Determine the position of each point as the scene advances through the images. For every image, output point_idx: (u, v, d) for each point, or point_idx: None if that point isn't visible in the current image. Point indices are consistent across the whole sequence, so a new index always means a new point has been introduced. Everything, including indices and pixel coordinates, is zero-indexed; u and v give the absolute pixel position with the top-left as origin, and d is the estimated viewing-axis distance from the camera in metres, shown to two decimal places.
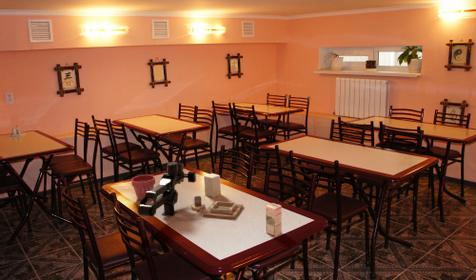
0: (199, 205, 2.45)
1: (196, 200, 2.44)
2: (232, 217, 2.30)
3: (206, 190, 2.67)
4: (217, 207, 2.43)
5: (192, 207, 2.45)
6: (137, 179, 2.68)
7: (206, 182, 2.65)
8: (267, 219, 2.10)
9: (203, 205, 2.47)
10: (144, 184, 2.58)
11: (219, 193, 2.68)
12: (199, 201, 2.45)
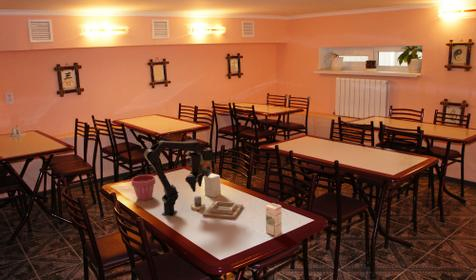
0: (199, 205, 2.45)
1: (196, 200, 2.44)
2: (232, 217, 2.30)
3: (206, 190, 2.67)
4: (217, 207, 2.43)
5: (192, 207, 2.45)
6: (137, 179, 2.68)
7: (206, 182, 2.65)
8: (267, 219, 2.10)
9: (203, 205, 2.47)
10: (144, 184, 2.58)
11: (219, 193, 2.68)
12: (199, 201, 2.45)
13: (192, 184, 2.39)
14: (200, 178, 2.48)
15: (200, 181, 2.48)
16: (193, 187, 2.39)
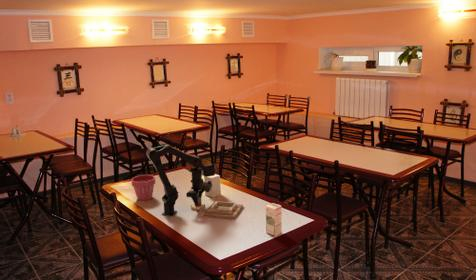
0: (199, 205, 2.45)
1: None
2: (232, 217, 2.30)
3: None
4: (217, 207, 2.43)
5: (192, 207, 2.45)
6: (137, 179, 2.68)
7: None
8: (267, 219, 2.10)
9: (203, 205, 2.47)
10: (144, 184, 2.58)
11: (219, 193, 2.68)
12: (199, 201, 2.45)
13: (194, 198, 2.43)
14: (199, 194, 2.48)
15: None
16: (195, 201, 2.43)
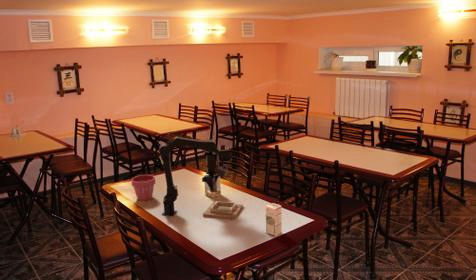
0: (215, 190, 2.39)
1: None
2: (232, 217, 2.30)
3: (206, 190, 2.67)
4: (217, 207, 2.43)
5: (207, 192, 2.39)
6: (137, 179, 2.68)
7: None
8: (267, 219, 2.10)
9: (219, 190, 2.41)
10: (144, 184, 2.58)
11: None
12: (215, 186, 2.39)
13: (210, 183, 2.37)
14: (215, 179, 2.42)
15: None
16: (211, 186, 2.37)
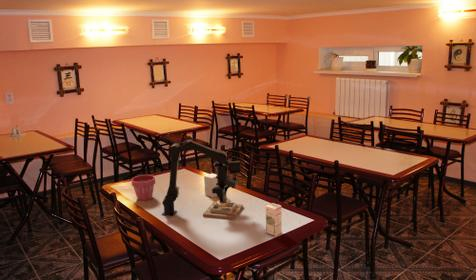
0: (224, 202, 2.38)
1: None
2: (232, 217, 2.30)
3: (206, 190, 2.67)
4: (217, 207, 2.43)
5: (217, 204, 2.38)
6: (137, 179, 2.68)
7: (206, 182, 2.65)
8: (267, 219, 2.10)
9: (228, 202, 2.40)
10: (144, 184, 2.58)
11: None
12: (224, 197, 2.38)
13: (220, 194, 2.36)
14: (224, 190, 2.41)
15: None
16: (221, 197, 2.36)
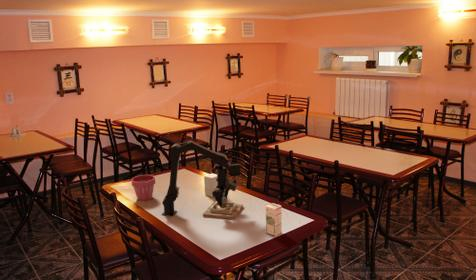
0: (224, 206, 2.39)
1: None
2: (232, 217, 2.30)
3: (206, 190, 2.67)
4: None
5: (217, 208, 2.38)
6: (137, 179, 2.68)
7: (206, 182, 2.65)
8: (267, 219, 2.10)
9: (228, 206, 2.40)
10: (144, 184, 2.58)
11: None
12: (224, 202, 2.38)
13: (219, 198, 2.34)
14: (226, 192, 2.43)
15: (226, 195, 2.44)
16: (220, 201, 2.34)
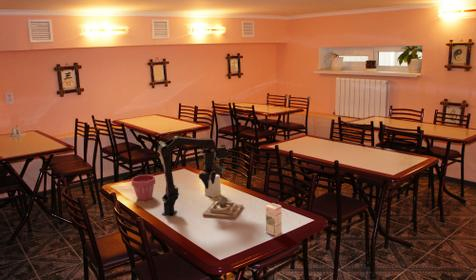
0: (224, 206, 2.39)
1: (221, 201, 2.38)
2: (232, 217, 2.30)
3: (206, 190, 2.67)
4: None
5: (217, 208, 2.38)
6: (137, 179, 2.68)
7: None
8: (267, 219, 2.10)
9: (228, 206, 2.40)
10: (144, 184, 2.58)
11: (219, 193, 2.68)
12: (224, 202, 2.38)
13: (205, 181, 2.40)
14: (213, 175, 2.50)
15: (213, 178, 2.50)
16: (206, 184, 2.41)
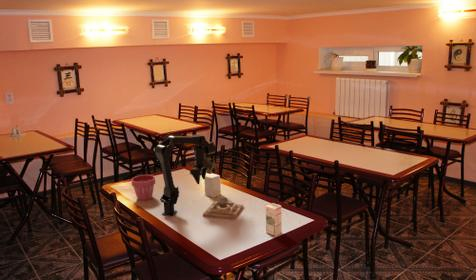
0: (224, 206, 2.39)
1: (221, 201, 2.38)
2: (232, 217, 2.30)
3: (206, 190, 2.67)
4: None
5: (217, 208, 2.38)
6: (137, 179, 2.68)
7: (206, 182, 2.65)
8: (267, 219, 2.10)
9: (228, 206, 2.40)
10: (144, 184, 2.58)
11: (219, 193, 2.68)
12: (224, 202, 2.38)
13: (196, 177, 2.47)
14: (204, 171, 2.57)
15: (204, 174, 2.57)
16: (197, 179, 2.47)
